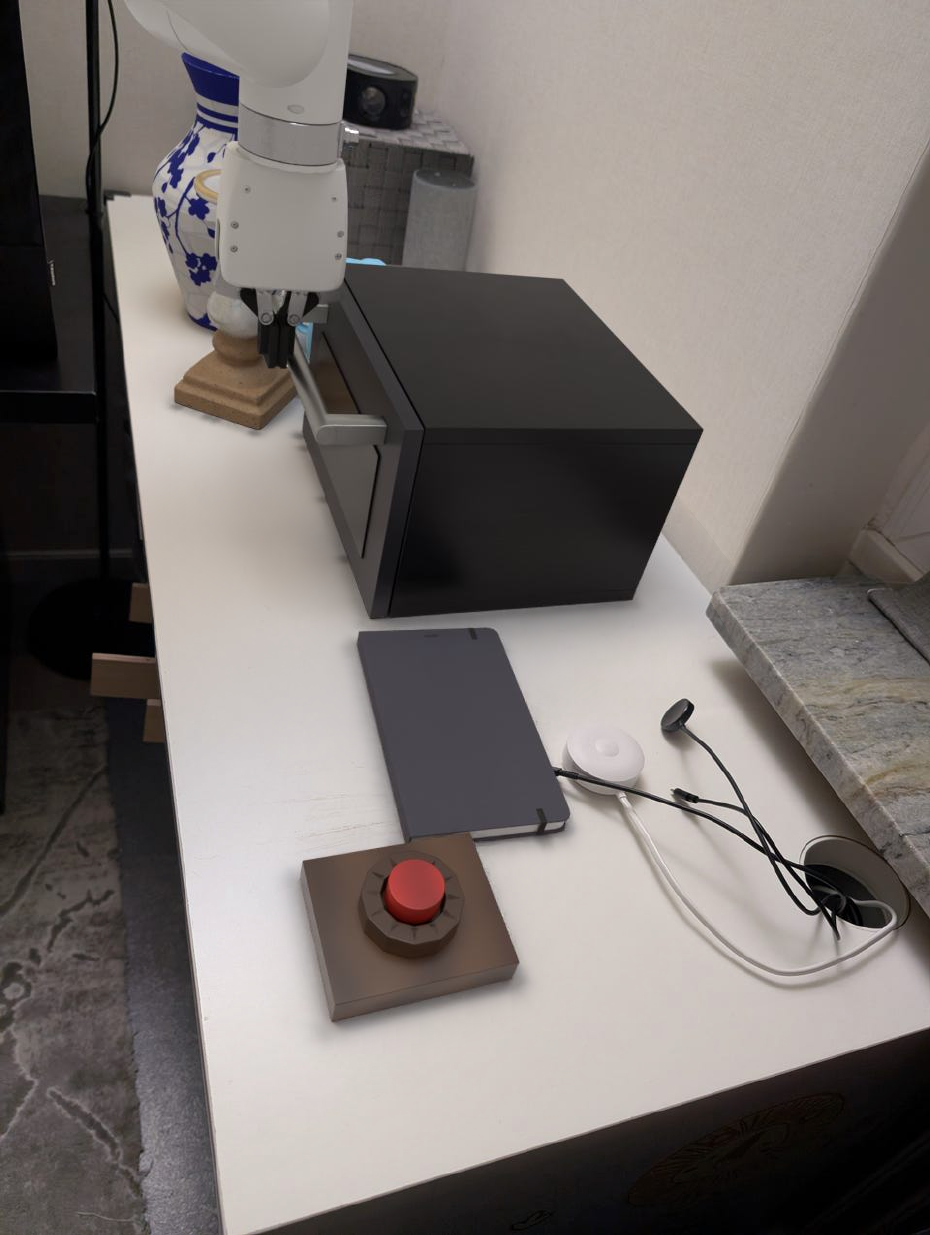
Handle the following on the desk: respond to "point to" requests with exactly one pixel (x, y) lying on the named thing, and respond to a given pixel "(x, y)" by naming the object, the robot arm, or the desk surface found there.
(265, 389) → the candle holder
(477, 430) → the oven
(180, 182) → the vase
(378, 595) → the oven door
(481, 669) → the notebook
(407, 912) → the button
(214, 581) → the desk surface
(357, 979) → the control block
